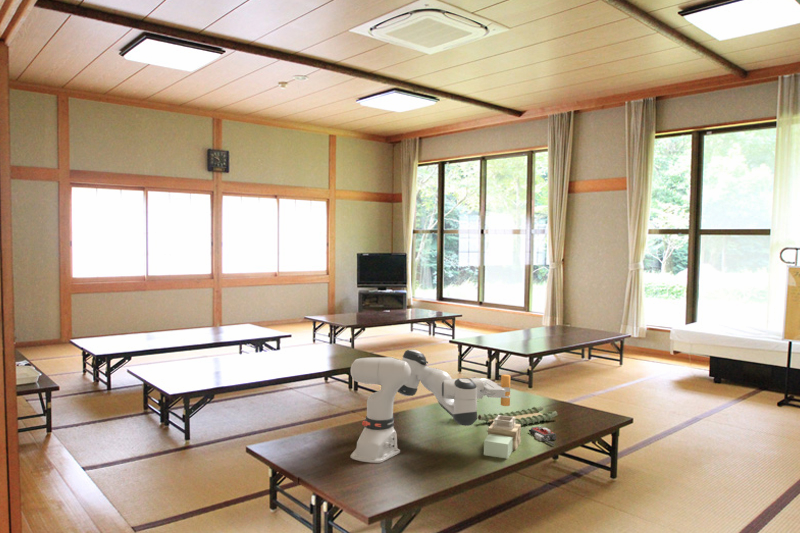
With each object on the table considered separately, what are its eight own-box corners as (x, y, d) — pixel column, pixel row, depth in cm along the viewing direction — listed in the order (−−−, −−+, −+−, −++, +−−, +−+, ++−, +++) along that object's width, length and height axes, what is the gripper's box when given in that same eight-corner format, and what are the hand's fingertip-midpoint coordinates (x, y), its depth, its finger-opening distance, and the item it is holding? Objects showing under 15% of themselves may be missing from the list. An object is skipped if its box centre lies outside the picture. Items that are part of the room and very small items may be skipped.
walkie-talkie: (524, 433, 265) (551, 447, 246) (524, 424, 264) (551, 437, 246) (540, 431, 268) (567, 445, 249) (540, 422, 268) (567, 435, 249)
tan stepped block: (515, 450, 241) (515, 423, 240) (487, 446, 245) (488, 420, 245) (520, 441, 252) (521, 416, 251) (494, 438, 256) (494, 413, 256)
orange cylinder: (509, 406, 245) (509, 376, 245) (499, 405, 247) (499, 375, 246) (511, 404, 249) (511, 375, 249) (501, 403, 251) (502, 374, 251)
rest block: (507, 458, 231) (507, 444, 231) (483, 454, 235) (484, 440, 235) (512, 450, 240) (512, 437, 240) (489, 447, 244) (489, 433, 244)
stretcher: (494, 432, 266) (494, 421, 266) (476, 423, 279) (476, 413, 279) (559, 421, 285) (559, 411, 285) (539, 413, 298) (539, 404, 298)
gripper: (485, 386, 235) (516, 386, 238) (470, 376, 255) (499, 375, 258) (485, 401, 235) (516, 400, 238) (470, 390, 255) (499, 389, 258)
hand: (507, 387), depth 248 cm, fingers closed on orange cylinder, 4 cm apart
